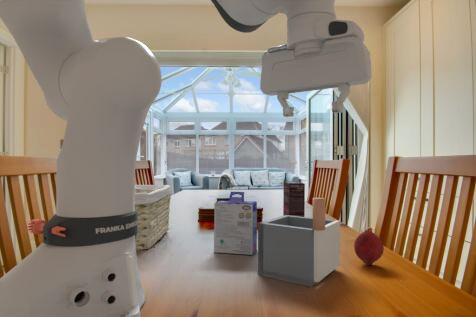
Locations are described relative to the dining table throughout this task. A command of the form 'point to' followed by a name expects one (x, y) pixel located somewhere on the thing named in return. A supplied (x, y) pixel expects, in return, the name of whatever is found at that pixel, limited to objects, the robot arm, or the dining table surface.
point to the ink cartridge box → (235, 225)
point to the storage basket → (151, 213)
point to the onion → (368, 246)
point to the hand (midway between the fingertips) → (311, 114)
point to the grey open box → (287, 249)
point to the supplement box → (294, 199)
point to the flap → (324, 242)
